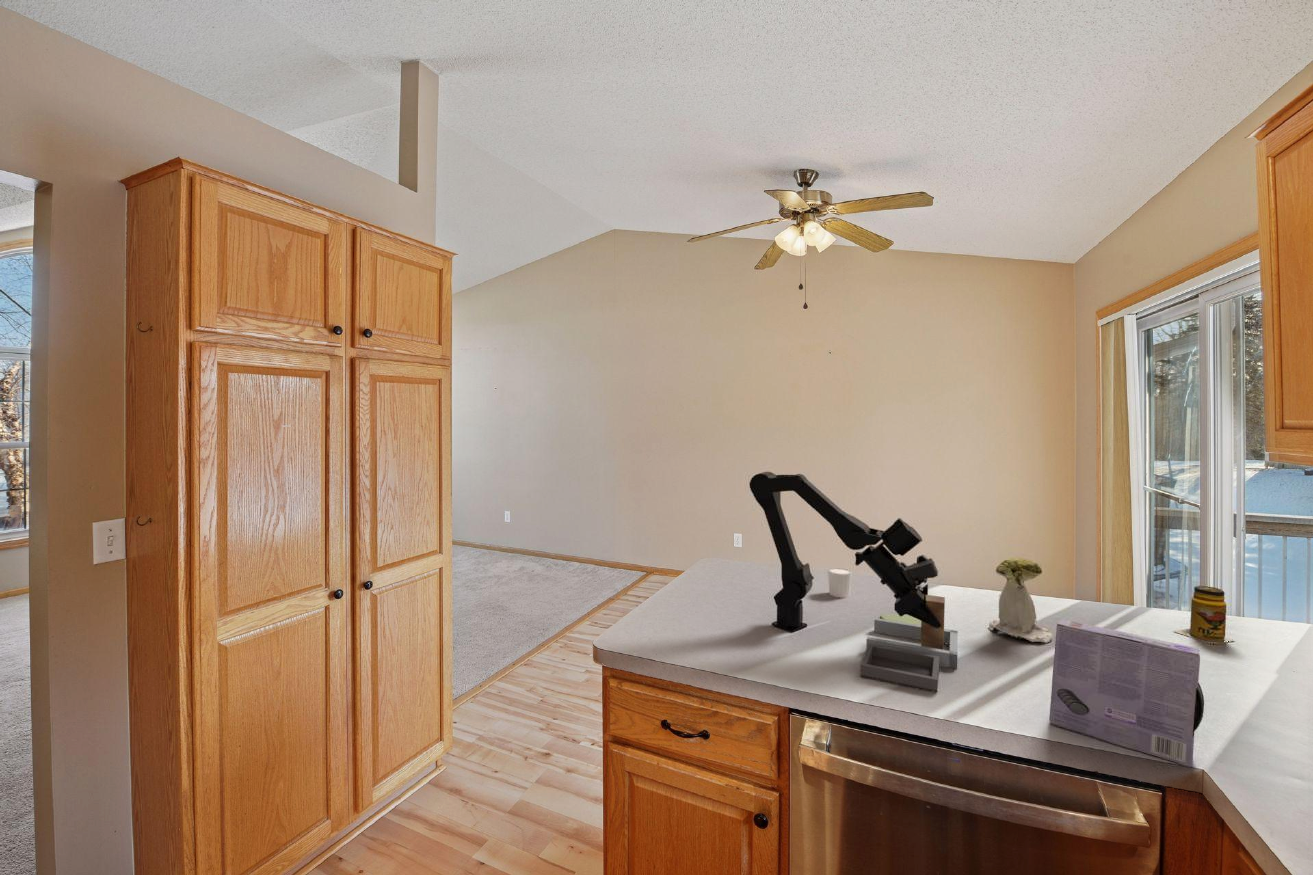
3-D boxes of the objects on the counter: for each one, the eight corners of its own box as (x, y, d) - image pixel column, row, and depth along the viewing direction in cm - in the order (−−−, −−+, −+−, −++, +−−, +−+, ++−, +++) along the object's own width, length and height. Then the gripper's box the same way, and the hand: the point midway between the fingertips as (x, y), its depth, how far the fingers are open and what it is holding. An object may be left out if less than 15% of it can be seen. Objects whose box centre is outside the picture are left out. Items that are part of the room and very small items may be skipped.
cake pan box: (1201, 757, 90) (1206, 645, 89) (1202, 772, 86) (1207, 655, 85) (1053, 714, 103) (1056, 616, 102) (1048, 725, 99) (1051, 623, 98)
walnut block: (920, 652, 128) (921, 599, 128) (921, 645, 132) (922, 594, 132) (943, 656, 126) (944, 603, 126) (943, 649, 130) (944, 597, 130)
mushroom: (1037, 648, 131) (1040, 568, 130) (979, 630, 142) (981, 556, 141) (1060, 637, 138) (1062, 561, 137) (1002, 621, 148) (1004, 550, 148)
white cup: (854, 598, 166) (855, 574, 166) (830, 598, 166) (831, 574, 166) (847, 591, 173) (847, 568, 173) (824, 590, 173) (824, 567, 173)
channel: (866, 652, 129) (866, 638, 129) (875, 629, 142) (875, 617, 142) (957, 668, 120) (957, 654, 120) (957, 643, 134) (957, 630, 134)
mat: (899, 633, 140) (899, 631, 140) (880, 617, 151) (880, 615, 151) (943, 632, 140) (943, 630, 140) (921, 616, 151) (921, 614, 151)
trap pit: (860, 676, 117) (860, 664, 117) (868, 654, 127) (868, 643, 127) (937, 692, 110) (937, 679, 110) (939, 668, 121) (939, 656, 121)
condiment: (1214, 645, 133) (1216, 594, 133) (1172, 631, 142) (1174, 583, 141) (1235, 641, 136) (1237, 591, 135) (1192, 628, 144) (1194, 581, 143)
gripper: (912, 555, 122) (970, 615, 117) (917, 538, 139) (968, 590, 134) (872, 586, 126) (926, 646, 121) (882, 566, 143) (930, 618, 138)
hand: (939, 623), depth 129 cm, fingers closed on walnut block, 4 cm apart
